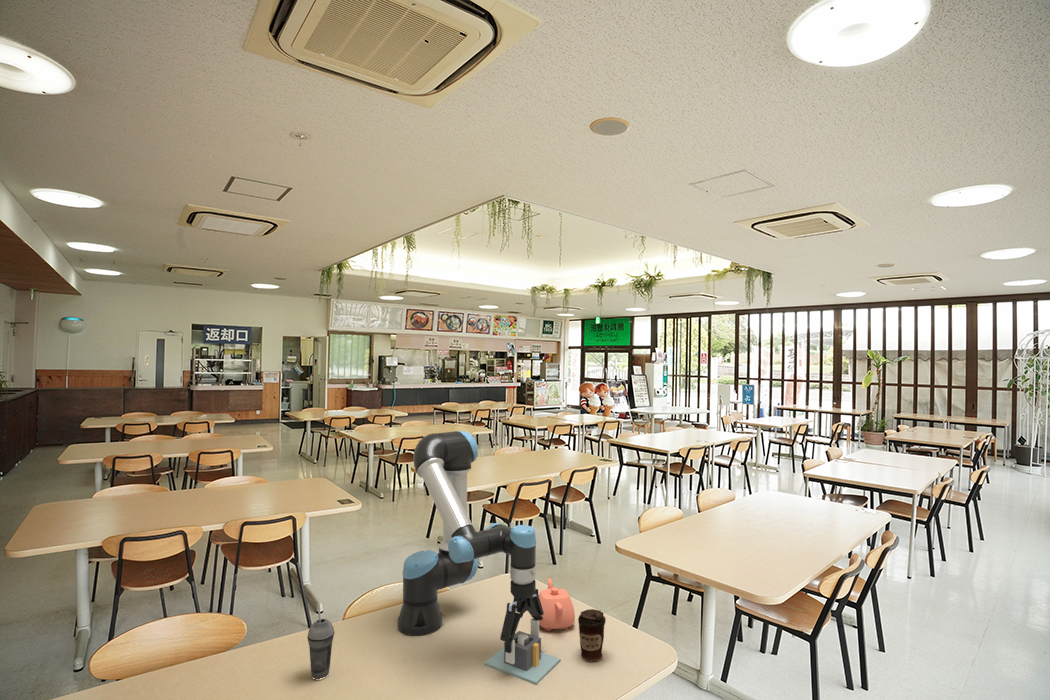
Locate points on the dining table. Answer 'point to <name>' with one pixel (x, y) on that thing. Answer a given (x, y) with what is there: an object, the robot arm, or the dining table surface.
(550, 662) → the board
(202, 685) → the dining table surface
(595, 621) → the coffee cup
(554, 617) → the teapot
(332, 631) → the beverage cup
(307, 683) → the dining table surface
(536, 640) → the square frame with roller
